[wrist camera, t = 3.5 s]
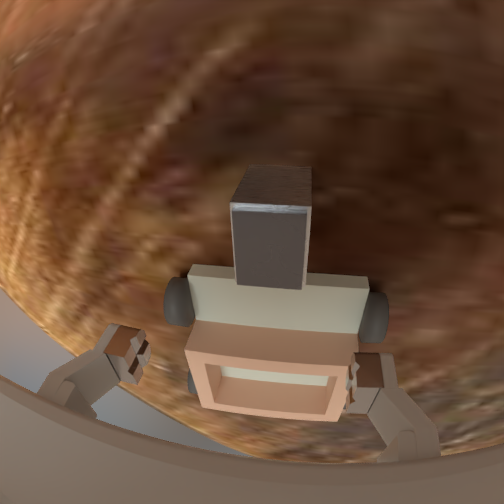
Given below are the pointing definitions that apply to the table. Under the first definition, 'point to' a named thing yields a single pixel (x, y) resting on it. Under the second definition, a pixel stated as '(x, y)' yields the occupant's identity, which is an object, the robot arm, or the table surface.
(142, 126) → the table surface
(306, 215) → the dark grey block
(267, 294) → the chassis
